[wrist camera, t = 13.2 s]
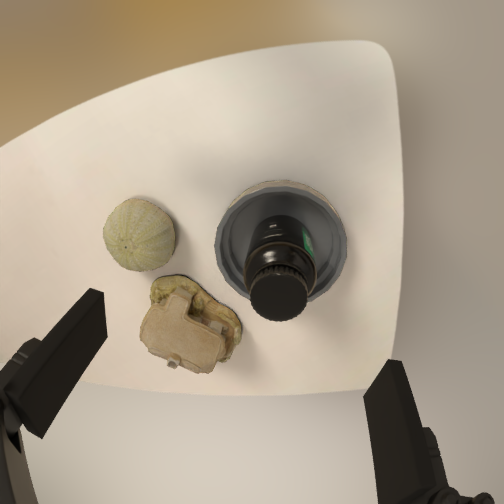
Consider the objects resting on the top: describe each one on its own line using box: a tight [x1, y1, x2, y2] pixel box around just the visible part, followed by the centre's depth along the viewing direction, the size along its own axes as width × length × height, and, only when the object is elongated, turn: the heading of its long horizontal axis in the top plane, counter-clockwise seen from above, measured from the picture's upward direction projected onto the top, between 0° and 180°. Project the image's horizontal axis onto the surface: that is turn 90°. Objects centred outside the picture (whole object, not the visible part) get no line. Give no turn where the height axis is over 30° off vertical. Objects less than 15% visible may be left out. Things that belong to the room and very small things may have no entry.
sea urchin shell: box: [103, 199, 175, 272], centre depth 36 cm, size 9×8×8 cm
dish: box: [214, 180, 347, 303], centre depth 35 cm, size 14×14×4 cm
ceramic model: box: [140, 275, 241, 374], centre depth 38 cm, size 14×11×10 cm
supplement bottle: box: [243, 215, 317, 322], centre depth 31 cm, size 7×7×12 cm
